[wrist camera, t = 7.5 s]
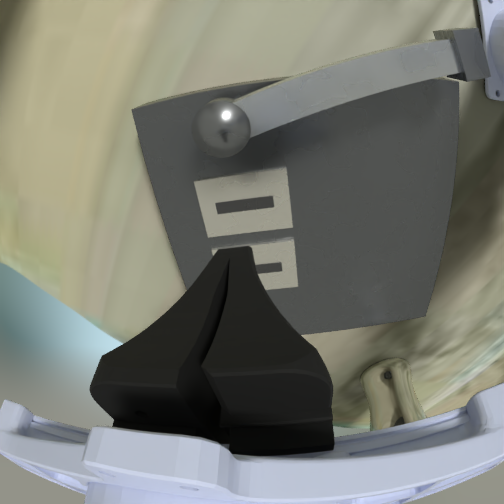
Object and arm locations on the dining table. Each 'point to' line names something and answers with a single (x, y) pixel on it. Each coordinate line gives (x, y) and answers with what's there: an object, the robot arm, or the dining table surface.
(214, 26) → the dining table surface
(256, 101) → the grey ball-ended handle
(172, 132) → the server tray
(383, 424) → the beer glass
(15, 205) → the dining table surface
